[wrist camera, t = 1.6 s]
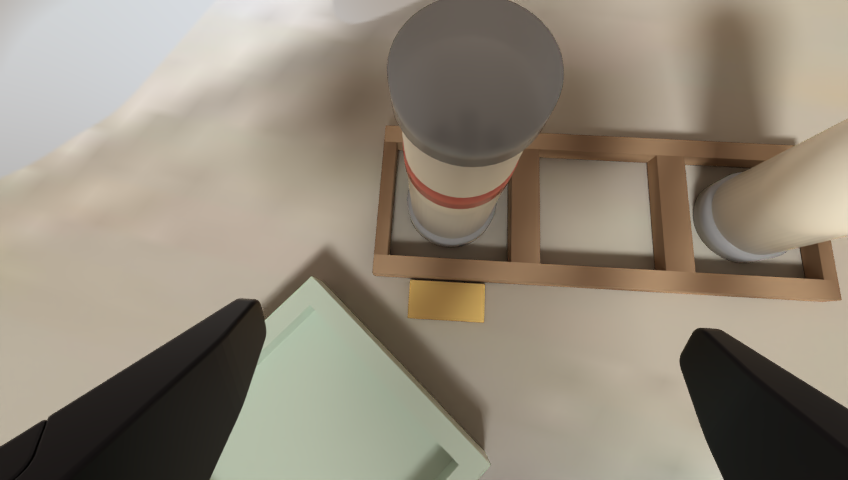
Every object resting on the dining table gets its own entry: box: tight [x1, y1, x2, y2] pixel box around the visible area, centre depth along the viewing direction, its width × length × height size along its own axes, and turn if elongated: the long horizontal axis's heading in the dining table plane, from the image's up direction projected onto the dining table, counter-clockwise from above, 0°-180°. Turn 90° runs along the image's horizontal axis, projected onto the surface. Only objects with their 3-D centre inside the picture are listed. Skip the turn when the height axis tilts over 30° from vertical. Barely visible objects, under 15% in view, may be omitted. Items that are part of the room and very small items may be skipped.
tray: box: [210, 276, 491, 480], centre depth 19 cm, size 12×12×2 cm
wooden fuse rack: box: [372, 125, 842, 323], centre depth 21 cm, size 24×11×1 cm, turn 87°
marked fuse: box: [387, 0, 564, 247], centre depth 17 cm, size 5×5×12 cm
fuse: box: [693, 119, 848, 263], centre depth 16 cm, size 5×5×12 cm
